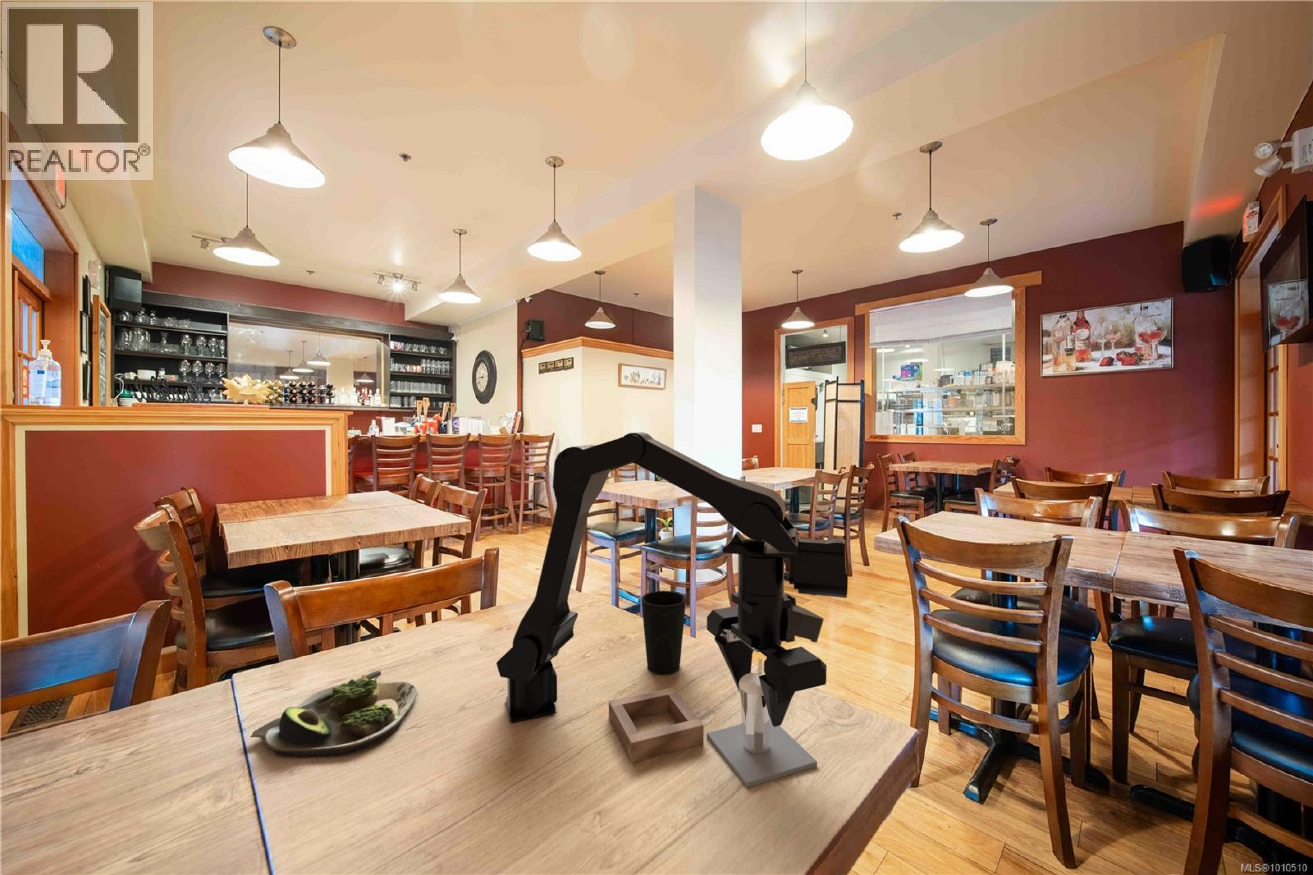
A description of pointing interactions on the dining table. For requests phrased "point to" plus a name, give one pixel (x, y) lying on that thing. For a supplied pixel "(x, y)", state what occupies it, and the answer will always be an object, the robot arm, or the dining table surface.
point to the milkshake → (754, 713)
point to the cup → (663, 630)
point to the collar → (656, 740)
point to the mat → (761, 755)
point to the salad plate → (339, 719)
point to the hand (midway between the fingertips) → (759, 709)
